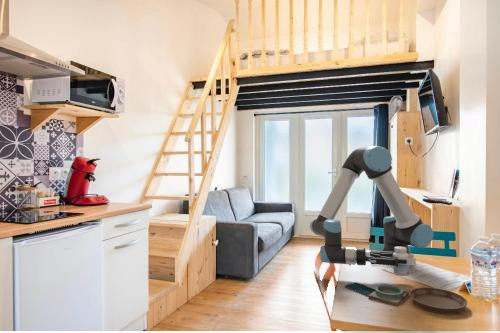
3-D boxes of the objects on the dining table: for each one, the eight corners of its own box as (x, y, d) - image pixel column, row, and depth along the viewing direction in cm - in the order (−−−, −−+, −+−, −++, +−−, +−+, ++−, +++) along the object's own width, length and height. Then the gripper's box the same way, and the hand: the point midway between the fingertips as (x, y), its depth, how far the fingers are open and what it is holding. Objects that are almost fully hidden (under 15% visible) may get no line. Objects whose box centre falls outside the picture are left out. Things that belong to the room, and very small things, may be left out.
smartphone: (356, 284, 136) (356, 281, 136) (387, 295, 123) (387, 293, 123) (343, 287, 132) (343, 285, 132) (373, 300, 119) (373, 297, 119)
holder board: (381, 288, 129) (381, 281, 129) (409, 294, 122) (409, 287, 122) (368, 298, 120) (368, 291, 120) (397, 306, 112) (397, 298, 112)
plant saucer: (468, 321, 101) (468, 311, 101) (406, 309, 110) (406, 300, 110) (466, 301, 116) (466, 292, 116) (412, 292, 125) (411, 284, 125)
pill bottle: (411, 276, 131) (410, 249, 131) (395, 276, 132) (394, 249, 132) (407, 272, 137) (406, 245, 137) (392, 271, 138) (391, 245, 138)
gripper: (357, 258, 150) (412, 261, 142) (355, 271, 132) (418, 276, 124) (356, 242, 150) (411, 245, 142) (354, 253, 132) (417, 256, 124)
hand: (414, 259), depth 133 cm, fingers closed on pill bottle, 6 cm apart
